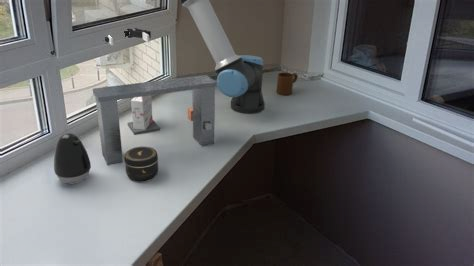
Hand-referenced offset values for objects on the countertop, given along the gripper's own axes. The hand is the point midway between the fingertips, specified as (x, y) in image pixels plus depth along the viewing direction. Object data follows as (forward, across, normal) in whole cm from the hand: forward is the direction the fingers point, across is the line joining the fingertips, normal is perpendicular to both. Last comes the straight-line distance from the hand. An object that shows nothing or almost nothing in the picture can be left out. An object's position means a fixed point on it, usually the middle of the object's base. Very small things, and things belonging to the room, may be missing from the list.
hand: (130, 40), depth 155 cm
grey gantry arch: (+30, 0, -32) cm, 44 cm away
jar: (+44, +10, -32) cm, 56 cm away
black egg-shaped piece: (+38, +30, -32) cm, 58 cm away
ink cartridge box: (+10, 0, -31) cm, 33 cm away
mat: (+10, 0, -32) cm, 33 cm away
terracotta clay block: (+28, -16, -26) cm, 42 cm away
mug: (-3, -76, -32) cm, 83 cm away
